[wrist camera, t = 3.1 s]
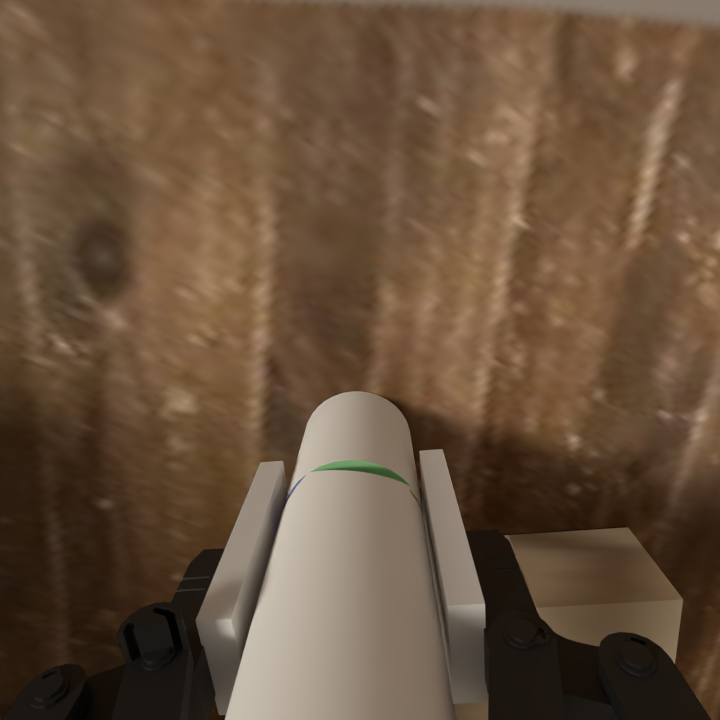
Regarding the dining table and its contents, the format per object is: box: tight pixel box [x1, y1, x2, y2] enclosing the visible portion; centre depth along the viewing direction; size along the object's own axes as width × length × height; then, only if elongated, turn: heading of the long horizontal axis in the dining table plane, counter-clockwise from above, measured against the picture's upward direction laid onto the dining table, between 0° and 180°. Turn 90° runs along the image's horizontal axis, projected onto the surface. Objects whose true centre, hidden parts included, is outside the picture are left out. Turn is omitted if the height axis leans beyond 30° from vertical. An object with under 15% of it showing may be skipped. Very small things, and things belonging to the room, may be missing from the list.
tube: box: [225, 391, 456, 720], centre depth 13 cm, size 4×4×15 cm
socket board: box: [453, 527, 683, 720], centre depth 22 cm, size 16×12×4 cm
